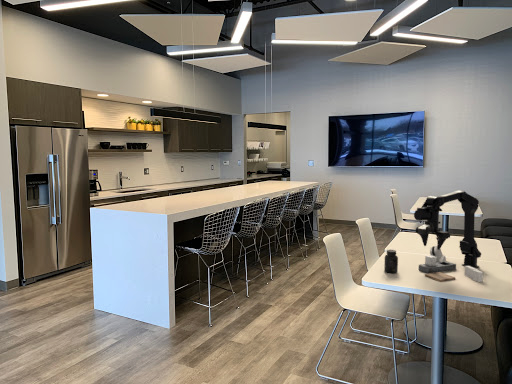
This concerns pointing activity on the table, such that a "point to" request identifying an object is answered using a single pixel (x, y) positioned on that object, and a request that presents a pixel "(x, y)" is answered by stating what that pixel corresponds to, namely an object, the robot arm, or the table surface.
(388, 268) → the supplement bottle
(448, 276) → the walnut pad
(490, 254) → the table surface
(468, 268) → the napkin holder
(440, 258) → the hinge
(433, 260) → the steel plug
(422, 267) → the grey cinder block
